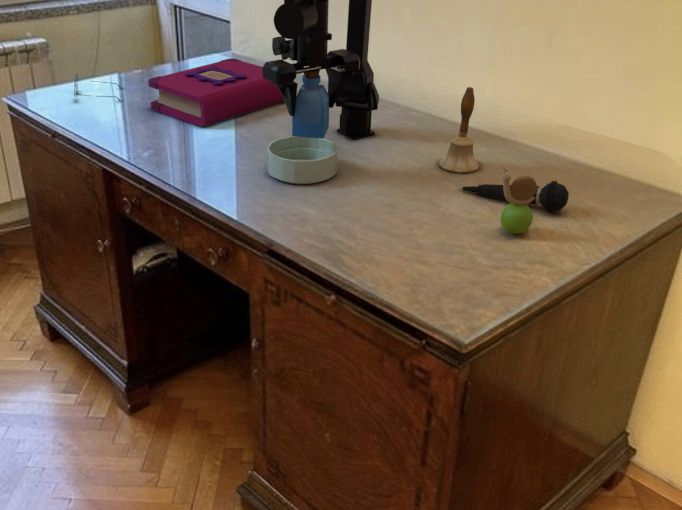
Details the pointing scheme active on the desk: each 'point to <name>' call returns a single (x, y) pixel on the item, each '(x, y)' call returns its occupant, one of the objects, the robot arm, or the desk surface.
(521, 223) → the snail figurine
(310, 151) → the bowl
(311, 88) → the perfume bottle
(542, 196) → the microphone
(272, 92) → the book
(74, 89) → the eyeglasses
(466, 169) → the hand bell
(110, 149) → the desk surface
